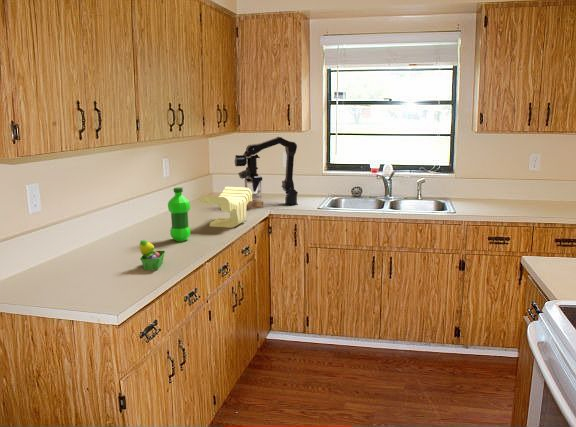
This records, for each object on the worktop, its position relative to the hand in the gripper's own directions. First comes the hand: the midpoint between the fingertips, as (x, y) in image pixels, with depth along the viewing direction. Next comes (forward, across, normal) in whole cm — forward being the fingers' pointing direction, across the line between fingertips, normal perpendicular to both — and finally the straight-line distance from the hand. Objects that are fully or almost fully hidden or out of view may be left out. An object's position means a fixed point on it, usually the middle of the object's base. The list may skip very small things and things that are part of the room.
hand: (252, 190), depth 329 cm
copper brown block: (+10, 0, 0) cm, 10 cm away
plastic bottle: (+10, +60, -59) cm, 85 cm away
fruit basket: (+10, +97, -79) cm, 126 cm away
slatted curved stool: (+10, +39, -29) cm, 49 cm away
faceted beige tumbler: (+2, 0, 0) cm, 2 cm away
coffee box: (+10, -18, +7) cm, 22 cm away
